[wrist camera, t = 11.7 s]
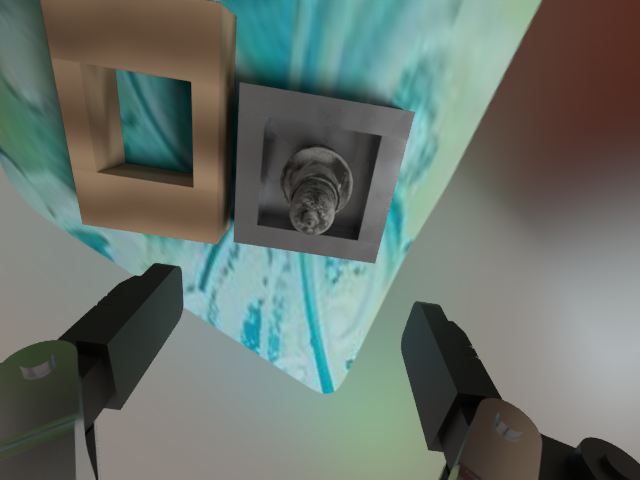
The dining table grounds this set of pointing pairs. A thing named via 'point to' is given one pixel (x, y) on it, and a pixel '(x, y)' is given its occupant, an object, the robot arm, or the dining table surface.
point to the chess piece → (315, 187)
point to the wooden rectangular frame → (104, 114)
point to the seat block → (305, 130)
